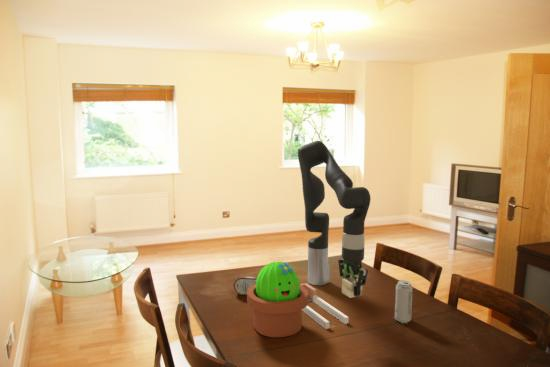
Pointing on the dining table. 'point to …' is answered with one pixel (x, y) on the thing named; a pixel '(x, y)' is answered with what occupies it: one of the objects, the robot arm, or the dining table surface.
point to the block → (349, 287)
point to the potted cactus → (277, 300)
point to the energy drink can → (403, 301)
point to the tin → (244, 283)
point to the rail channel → (324, 305)
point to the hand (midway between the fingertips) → (351, 292)
